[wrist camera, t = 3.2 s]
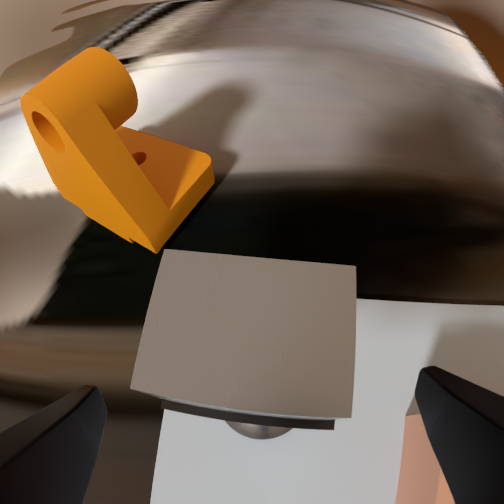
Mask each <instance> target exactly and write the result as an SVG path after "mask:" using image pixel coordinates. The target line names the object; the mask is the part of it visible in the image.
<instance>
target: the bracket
mask: <svg viewBox="0 0 504 504" xmlns="http://www.w3.org/2000/svg"><path fill="white" fill-rule="evenodd" d="M137 106H138V98H137V92H136V89H135V86H134V83H133V81H132V79H131V77H130V75H129V73H128V72H127V70H126V69H125V67H124V66H123V65H122V64H121V62H120V61H119V60H118V59H117V58H116V57H115V56H113V55H112V54H111V53H109V52H108V51H106V50H104V49H101V48H98V47H90V48H87V49H86V50H84V51H83V52H81V53H79V54H78V55H76V56H75V57H73V58H72V59H71V60H69V61H68V62H66V63H65V64H63V65H62V66H61V67H59V68H58V69H56V70H55V71H54V72H52V73H51V74H50V75H48V76H47V77H46V78H44V79H43V80H42V81H40V82H39V83H38V84H37V85H35V86H34V87H33V88H32V89H30V90H29V91H28V92H27V93H25V94H24V95H23V96H22V97H21V108H22V112H23V114H24V117H25V119H26V122H27V124H28V127H29V129H30V132H31V134H32V137H33V139H34V141H35V144H36V146H37V148H38V150H39V153H40V155H41V157H42V159H43V161H44V164H45V166H46V168H47V170H48V172H49V174H50V176H51V178H52V180H53V182H54V184H55V185H56V187H57V188H58V190H59V191H60V193H61V194H62V196H63V197H64V198H65V199H67V200H68V201H70V202H72V203H74V204H75V205H77V206H78V207H80V208H81V209H82V211H83V212H84V213H85V215H87V216H89V217H90V218H92V219H93V220H95V221H97V222H98V223H100V224H101V225H103V226H105V227H106V228H108V229H109V230H111V231H113V232H114V233H116V234H118V235H119V236H121V237H123V238H124V239H126V240H128V241H129V242H131V243H133V242H134V241H136V242H137V243H139V244H141V245H142V246H144V247H146V248H147V249H149V250H151V251H153V252H154V253H156V254H157V253H158V252H159V250H160V249H161V248H162V246H163V245H164V244H165V243H166V241H167V240H168V239H169V238H170V236H171V235H172V234H173V233H174V231H175V230H176V229H177V228H178V226H179V225H180V224H181V223H182V221H183V220H184V219H185V218H186V217H187V215H188V214H189V213H190V212H191V210H192V209H193V208H194V207H195V206H196V204H197V203H198V202H199V201H200V200H201V198H202V197H203V196H204V195H205V194H206V193H207V191H208V190H209V189H210V188H211V187H212V185H213V184H214V182H215V177H214V172H213V167H212V162H211V158H210V156H209V155H208V154H206V153H203V152H201V151H198V150H195V149H192V148H189V147H186V146H183V145H180V144H177V143H174V142H171V141H168V140H165V139H162V138H159V137H156V136H152V135H149V134H146V133H143V132H140V131H136V130H133V129H130V128H126V127H123V126H121V125H122V124H123V123H124V122H125V121H127V120H128V119H129V118H130V117H131V116H132V115H133V114H134V113H135V112H136V110H137Z"/></svg>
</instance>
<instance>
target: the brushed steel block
mask: <svg viewBox="0 0 504 504" xmlns="http://www.w3.org/2000/svg"><path fill="white" fill-rule="evenodd" d="M355 351H356V266H350V265H339V264H327V263H315V262H304V261H292V260H281V259H270V258H258V257H247V256H236V255H225V254H214V253H203V252H192V251H181V250H170V249H164V253H163V256H162V259H161V263H160V267H159V270H158V274H157V277H156V281H155V285H154V288H153V292H152V296H151V300H150V304H149V307H148V311H147V315H146V319H145V323H144V328H143V332H142V336H141V340H140V344H139V349H138V353H137V358H136V362H135V367H134V372H133V376H132V381H131V386H130V389H133V390H136V391H139V392H142V393H145V394H148V395H152V396H155V397H158V398H161V399H162V404H161V408H162V409H166V410H171V411H175V412H180V413H185V414H190V415H196V416H201V417H207V418H213V419H219V420H225V422H226V423H227V424H228V425H229V426H230V427H231V428H232V429H233V430H234V431H236V432H237V433H239V434H241V435H243V436H245V437H249V438H252V439H262V440H264V439H272V438H276V437H279V436H281V435H283V434H285V433H287V432H289V431H290V430H291V429H293V428H298V429H316V430H334V426H335V420H337V419H346V418H351V417H352V405H353V391H354V374H355Z"/></svg>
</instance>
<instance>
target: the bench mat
mask: <svg viewBox="0 0 504 504" xmlns="http://www.w3.org/2000/svg"><path fill="white" fill-rule="evenodd" d="M433 365H434V366H437V367H439V368H441V369H443V370H446V371H448V372H450V373H452V374H454V375H457V376H459V377H461V378H463V379H465V380H468V381H470V382H472V383H474V384H477V385H479V386H481V387H483V388H486V389H488V390H490V391H492V392H495V393H497V394H499V395H501V396H504V306H494V305H463V304H439V303H419V302H401V301H384V300H369V299H356V351H355V374H354V391H353V405H352V417H351V418H346V419H337V420H335V426H334V430H316V429H298V428H293V429H291V430H290V431H289V432H287V433H285V434H283V435H281V436H279V437H276V438H272V439H264V440H262V439H252V438H249V437H245V436H243V435H241V434H239V433H237V432H236V431H234V430H233V429H232V428H231V427H230V426H229V425H228V424H227V423H226V422H225V420H219V419H213V418H207V417H201V416H196V415H190V414H185V413H180V412H175V411H171V410H166V409H164V415H163V421H162V427H161V433H160V439H159V445H158V452H157V458H156V465H155V472H154V479H153V486H152V493H151V501H150V504H395V500H396V494H397V488H398V481H399V474H400V466H401V457H402V447H403V436H404V423H405V416H410V415H417V414H420V411H419V408H418V405H417V402H416V399H415V387H416V384H417V379H418V375H419V372H420V370H421V369H422V368H423V367H428V366H433Z"/></svg>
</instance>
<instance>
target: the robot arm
mask: <svg viewBox="0 0 504 504" xmlns="http://www.w3.org/2000/svg"><path fill="white" fill-rule="evenodd" d="M415 399H416V402H417V405H418V408H419V411H420V414H421V417H422V421H423V424H424V427H425V430H426V433H427V436H428V439H429V442H430V444H431V446H432V449H433V451H434V453H435V455H436V458H437V460H438V462H439V465H440V467H441V469H442V472H443V474H444V477H445V479H446V482H447V484H448V486H449V489H450V491H451V494H452V496H453V499H454V502H455V504H504V396H501V395H499V394H497V393H495V392H492V391H490V390H488V389H486V388H483V387H481V386H479V385H477V384H474V383H472V382H470V381H468V380H465V379H463V378H461V377H459V376H457V375H454V374H452V373H450V372H448V371H446V370H443V369H441V368H439V367H437V366H434V365H433V366H428V367H423V368H422V369H421V370H420V372H419V375H418V379H417V384H416V387H415ZM106 418H107V408H106V405H105V403H104V400H103V398H102V395H101V392H100V390H99V389H98V387H96V386H89V385H84V386H82V387H80V388H79V389H77V390H75V391H74V392H72V393H70V394H68V395H67V396H65V397H63V398H61V399H60V400H58V401H56V402H54V403H53V404H51V405H49V406H47V407H46V408H44V409H42V410H40V411H39V412H37V413H35V414H33V415H31V416H30V417H28V418H26V419H24V420H22V421H21V422H19V423H17V424H15V425H13V426H12V427H10V428H8V429H6V430H4V431H2V432H1V433H0V504H83V501H84V498H85V495H86V491H87V488H88V485H89V482H90V479H91V476H92V473H93V470H94V467H95V464H96V460H97V457H98V453H99V449H100V444H101V440H102V435H103V431H104V426H105V422H106Z"/></svg>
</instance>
